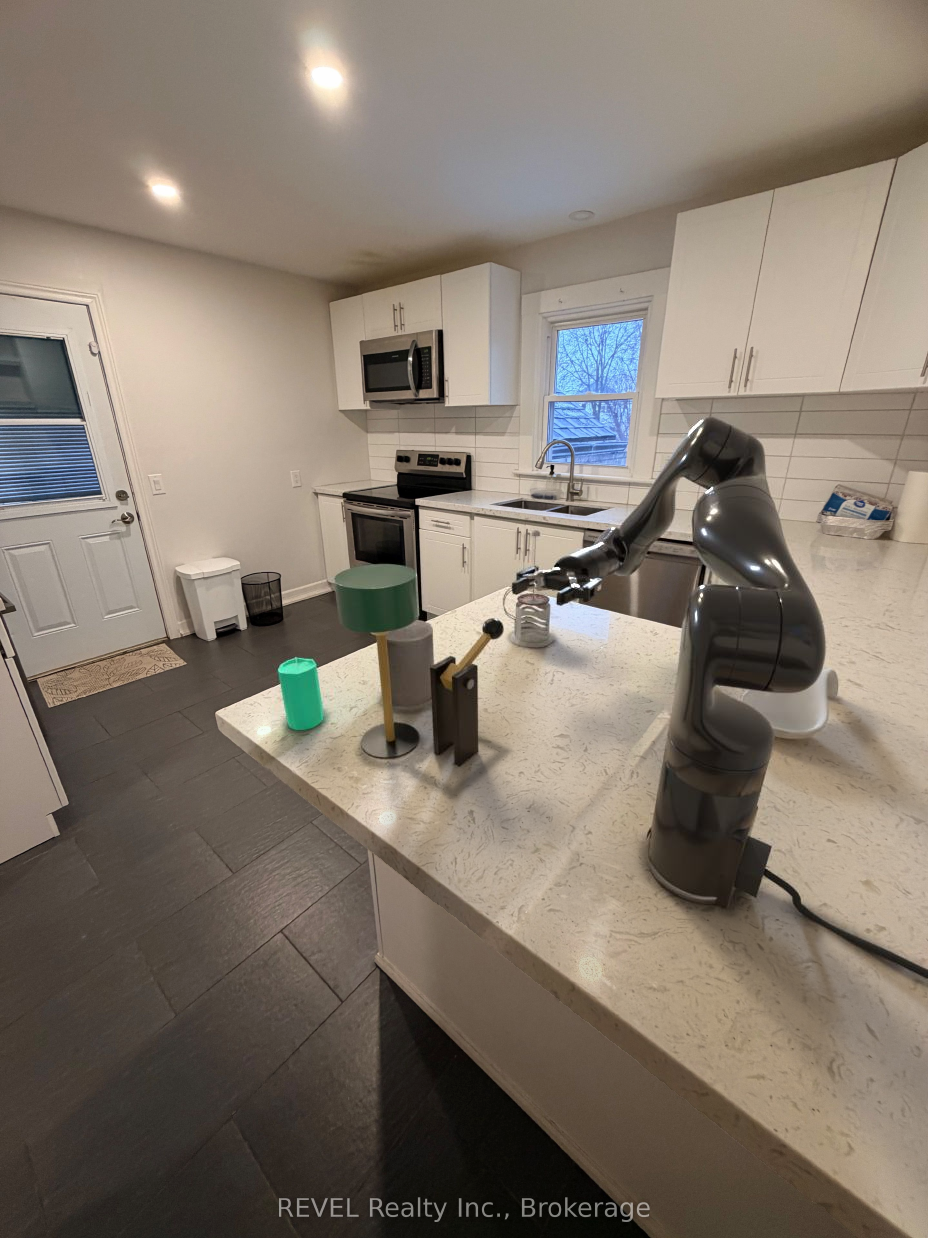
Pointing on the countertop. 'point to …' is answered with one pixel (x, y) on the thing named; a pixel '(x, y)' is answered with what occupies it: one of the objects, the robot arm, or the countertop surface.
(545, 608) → the french press
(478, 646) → the switch lever
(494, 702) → the countertop surface
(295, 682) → the candle
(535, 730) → the countertop surface
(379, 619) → the desk lamp
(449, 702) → the switch bracket
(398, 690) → the pillar candle
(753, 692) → the spoon rest
